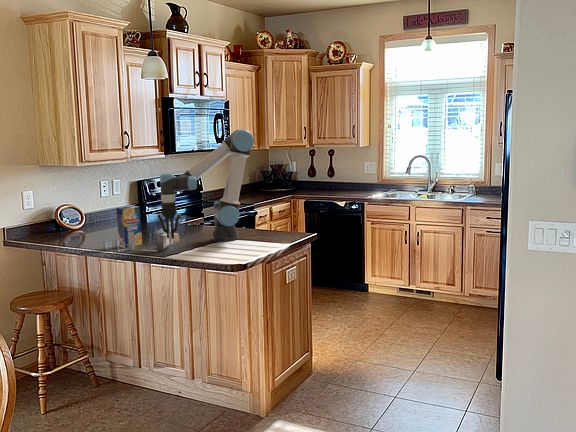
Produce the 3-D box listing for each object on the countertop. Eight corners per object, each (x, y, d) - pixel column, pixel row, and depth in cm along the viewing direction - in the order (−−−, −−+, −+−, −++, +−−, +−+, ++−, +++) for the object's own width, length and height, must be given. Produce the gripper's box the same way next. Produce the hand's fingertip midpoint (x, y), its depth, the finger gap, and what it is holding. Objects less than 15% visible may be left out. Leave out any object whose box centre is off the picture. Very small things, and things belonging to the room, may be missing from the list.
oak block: (179, 241, 340) (178, 233, 340) (171, 244, 333) (170, 235, 332) (168, 241, 344) (167, 232, 343) (159, 243, 336) (159, 235, 336)
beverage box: (142, 244, 334) (139, 206, 330) (125, 248, 326) (122, 209, 322) (135, 243, 338) (133, 205, 335) (118, 246, 330) (116, 208, 327)
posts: (165, 251, 314) (163, 233, 312) (161, 252, 311) (160, 234, 309) (135, 249, 321) (134, 231, 319) (132, 250, 318) (131, 232, 316)
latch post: (135, 249, 321) (134, 231, 319) (131, 250, 318) (130, 232, 316) (132, 249, 321) (131, 231, 320) (129, 250, 319) (127, 232, 317)
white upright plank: (163, 249, 315) (162, 236, 314) (160, 249, 315) (159, 236, 314) (170, 243, 329) (169, 231, 328) (166, 243, 330) (165, 231, 328)
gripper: (181, 200, 322) (184, 242, 326) (158, 201, 323) (161, 242, 327) (178, 202, 315) (181, 245, 319) (155, 203, 315) (157, 245, 319)
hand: (171, 244), depth 323 cm, fingers closed
